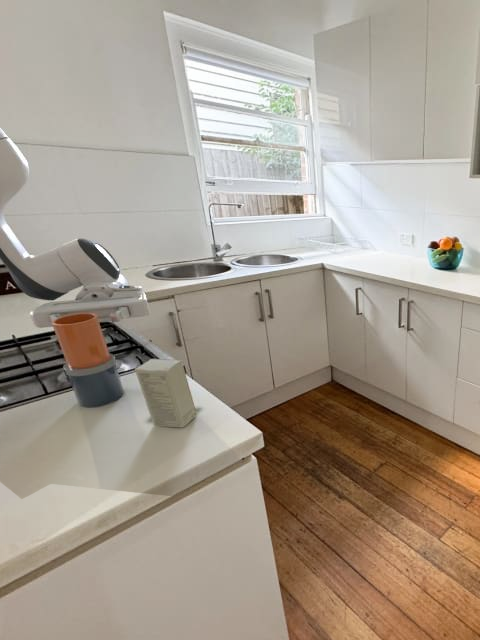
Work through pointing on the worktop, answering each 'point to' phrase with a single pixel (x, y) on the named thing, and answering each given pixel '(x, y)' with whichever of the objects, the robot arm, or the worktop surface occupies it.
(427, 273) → the worktop surface
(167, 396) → the cosmetic box
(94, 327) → the cup
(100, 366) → the jar
